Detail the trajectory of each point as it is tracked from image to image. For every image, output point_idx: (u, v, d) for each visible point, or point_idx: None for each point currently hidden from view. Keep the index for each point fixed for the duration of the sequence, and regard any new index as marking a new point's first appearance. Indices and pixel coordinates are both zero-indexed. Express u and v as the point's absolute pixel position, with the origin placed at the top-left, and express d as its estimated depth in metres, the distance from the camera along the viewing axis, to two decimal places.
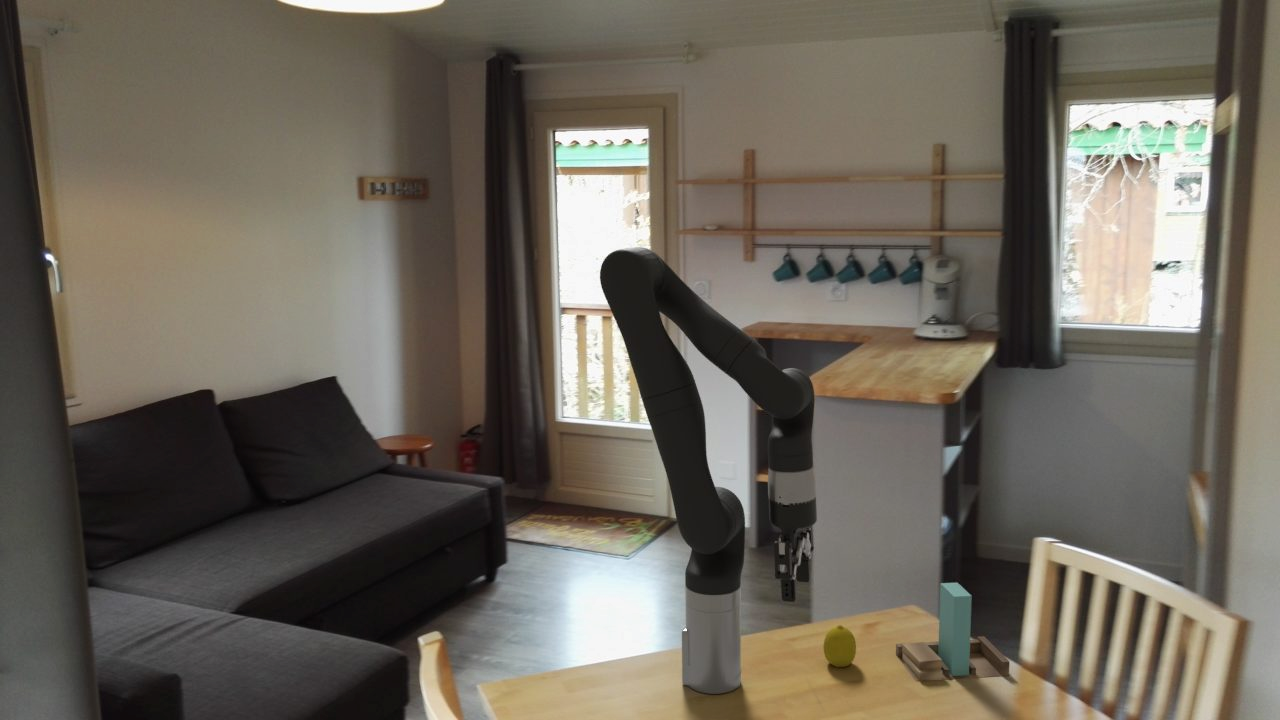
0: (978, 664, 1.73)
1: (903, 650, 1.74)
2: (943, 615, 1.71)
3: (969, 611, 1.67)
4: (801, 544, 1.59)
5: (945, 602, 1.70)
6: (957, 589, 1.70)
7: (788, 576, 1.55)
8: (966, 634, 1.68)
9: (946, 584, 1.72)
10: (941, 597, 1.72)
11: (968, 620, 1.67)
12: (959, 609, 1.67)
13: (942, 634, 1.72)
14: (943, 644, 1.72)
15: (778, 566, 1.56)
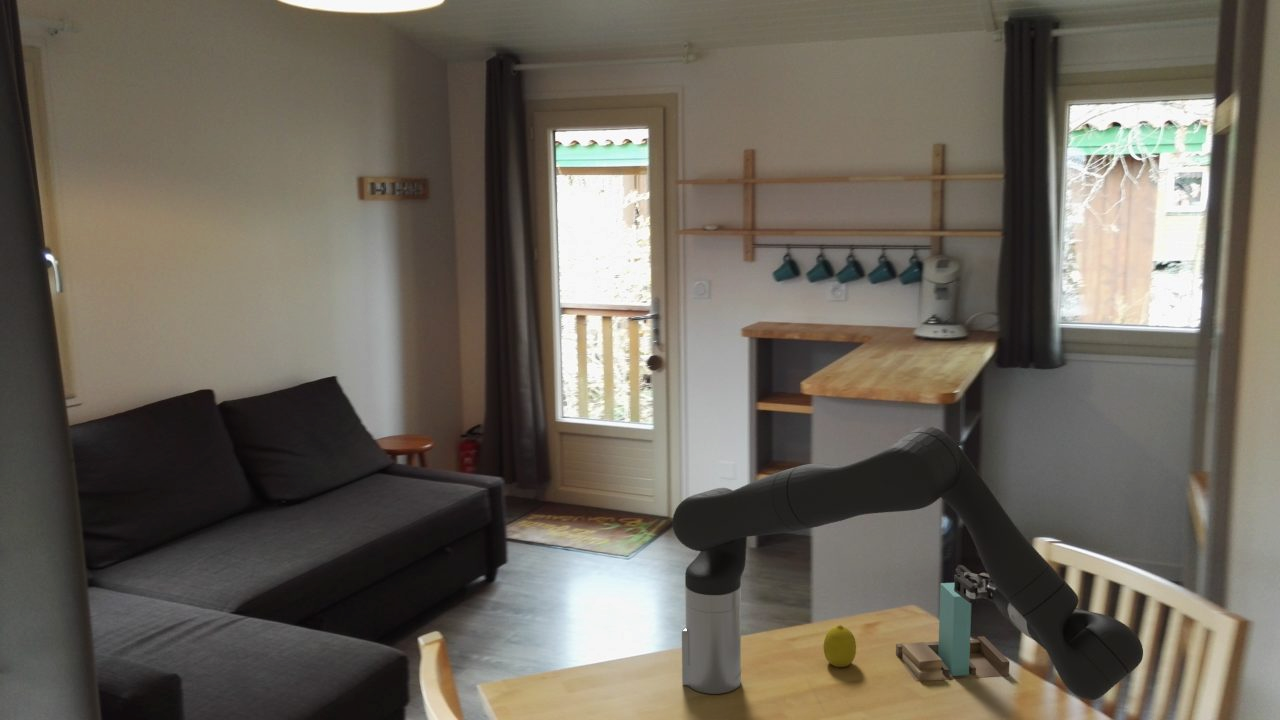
0: (978, 664, 1.73)
1: (903, 650, 1.74)
2: (943, 615, 1.71)
3: (969, 611, 1.67)
4: None
5: (945, 602, 1.70)
6: None
7: (954, 589, 1.52)
8: (966, 634, 1.68)
9: (946, 584, 1.72)
10: (941, 597, 1.72)
11: (968, 620, 1.67)
12: (959, 609, 1.67)
13: (942, 634, 1.72)
14: (943, 644, 1.72)
15: None
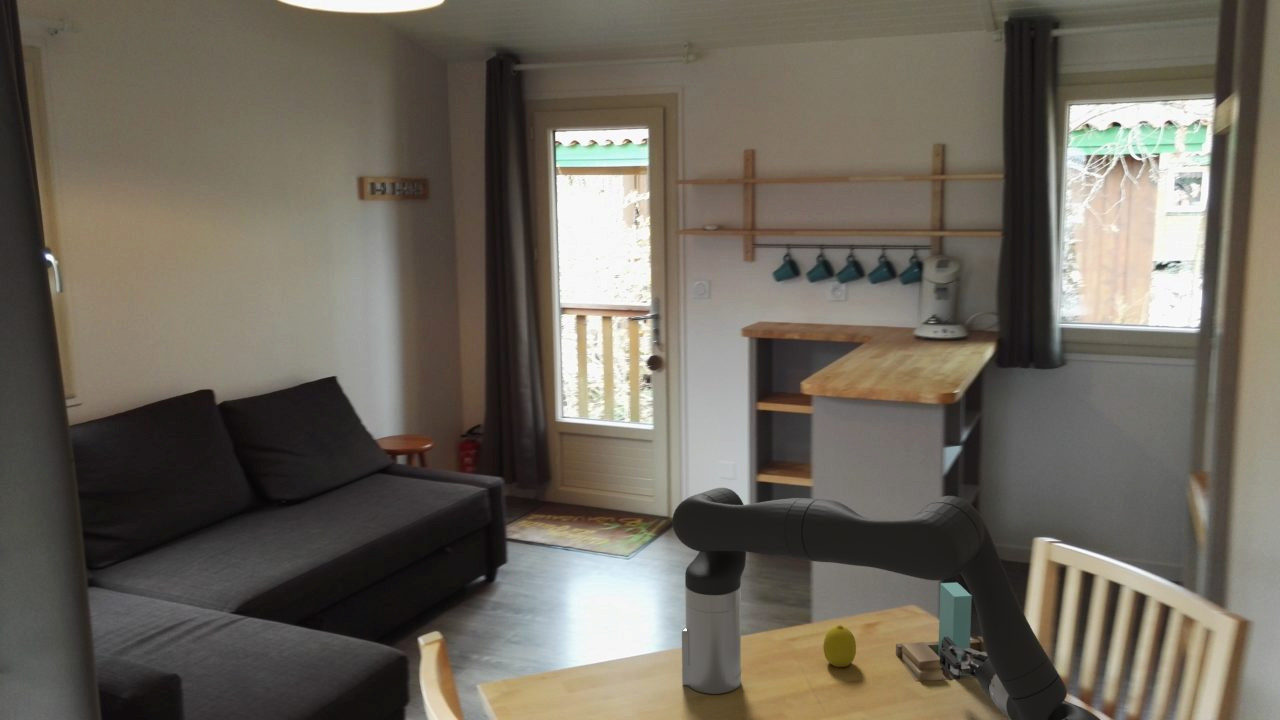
0: None
1: (903, 650, 1.74)
2: (943, 615, 1.71)
3: (969, 611, 1.67)
4: None
5: (945, 602, 1.70)
6: (957, 589, 1.70)
7: (940, 663, 1.58)
8: (966, 634, 1.68)
9: (946, 584, 1.72)
10: (941, 597, 1.72)
11: (968, 620, 1.67)
12: (959, 609, 1.67)
13: (942, 634, 1.72)
14: None
15: None
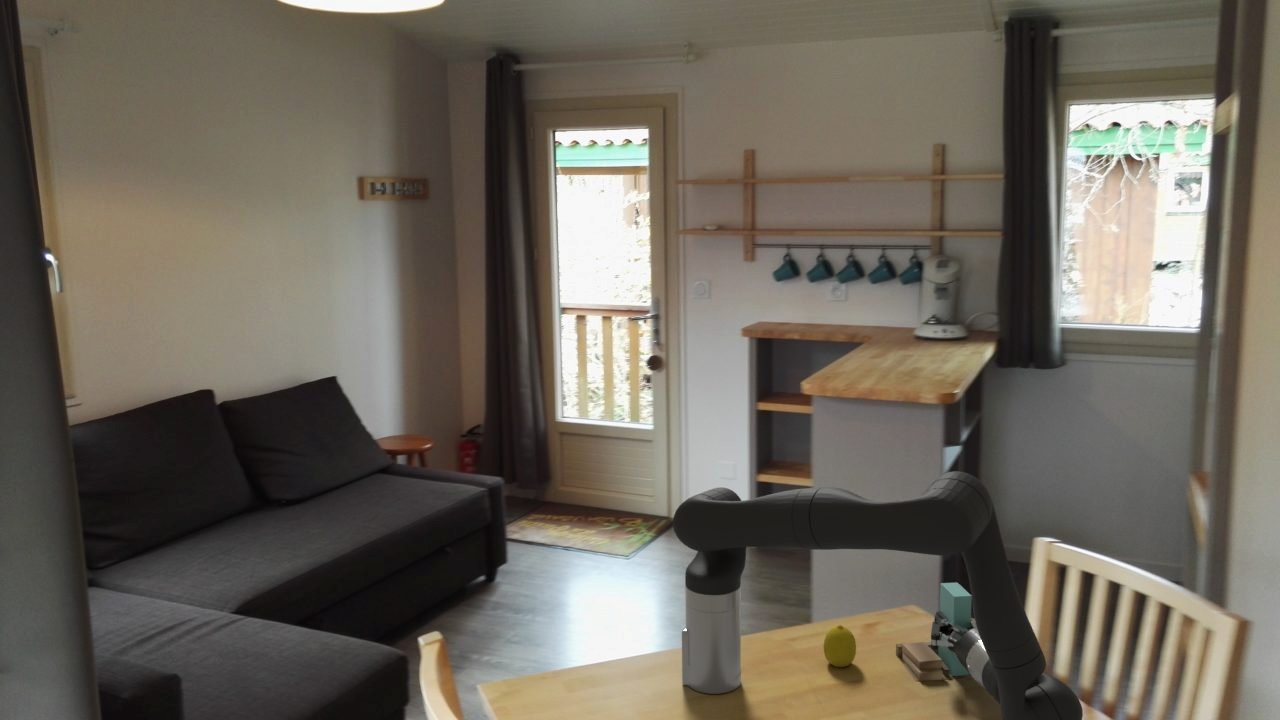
0: None
1: (903, 650, 1.74)
2: None
3: (969, 611, 1.67)
4: None
5: (945, 602, 1.70)
6: (957, 589, 1.70)
7: None
8: None
9: (946, 584, 1.72)
10: (941, 597, 1.72)
11: (968, 620, 1.67)
12: (959, 609, 1.67)
13: None
14: None
15: None
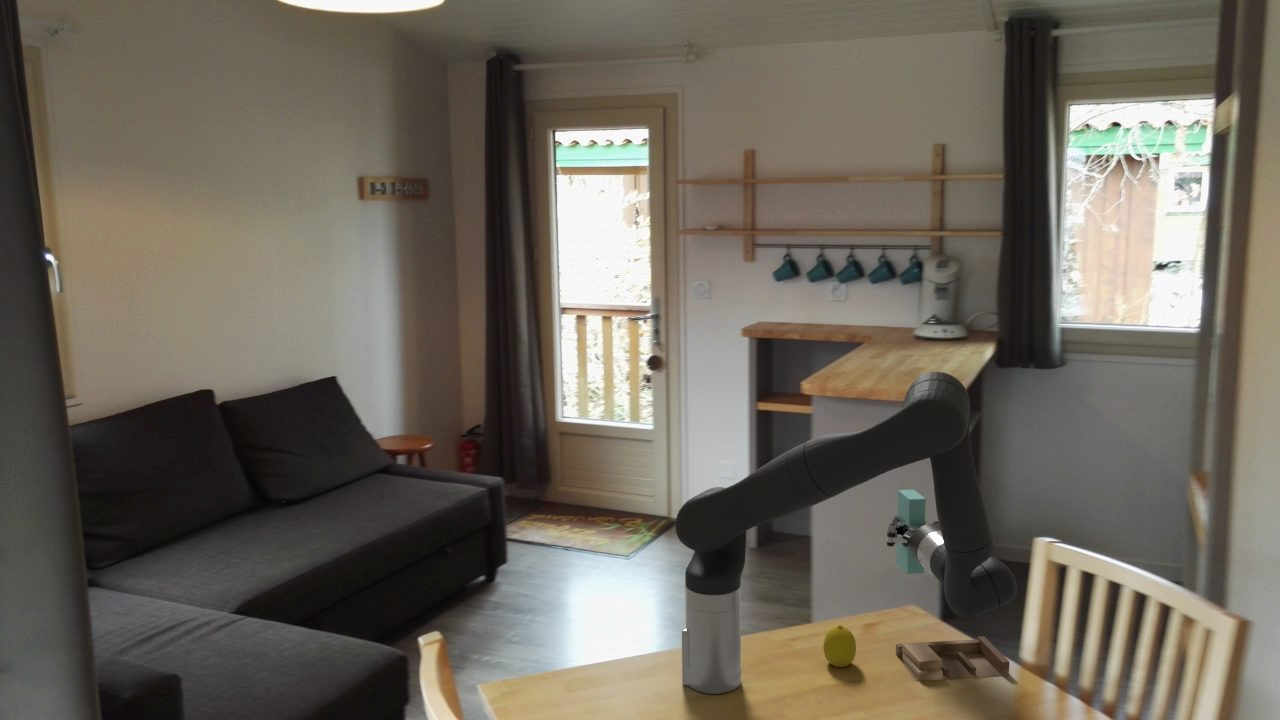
0: (978, 664, 1.73)
1: (903, 650, 1.74)
2: None
3: (923, 513, 1.81)
4: None
5: (902, 507, 1.85)
6: (913, 494, 1.84)
7: None
8: None
9: (903, 491, 1.86)
10: (899, 503, 1.86)
11: (922, 521, 1.82)
12: (914, 511, 1.81)
13: None
14: (900, 546, 1.86)
15: None
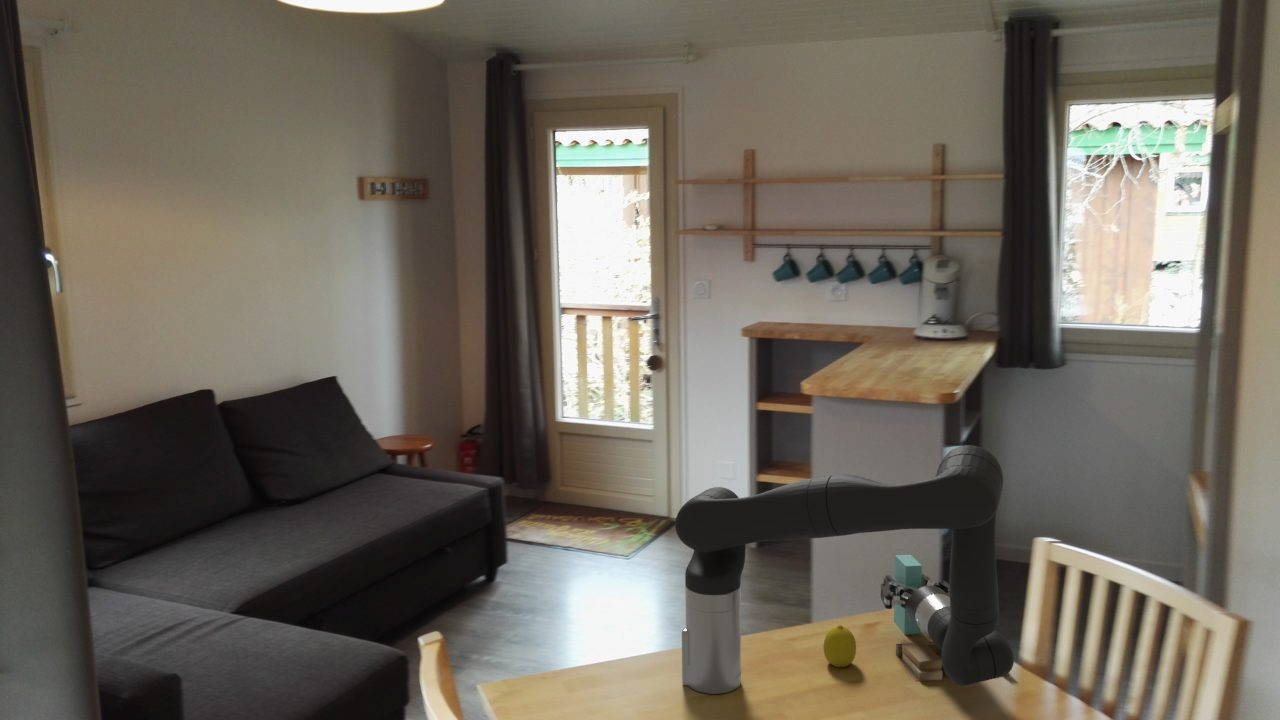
0: None
1: (903, 650, 1.74)
2: None
3: (920, 579, 1.84)
4: None
5: (899, 572, 1.87)
6: (909, 560, 1.87)
7: (881, 596, 1.84)
8: None
9: (900, 556, 1.89)
10: (896, 568, 1.89)
11: (918, 587, 1.84)
12: (911, 578, 1.84)
13: None
14: (897, 611, 1.89)
15: None
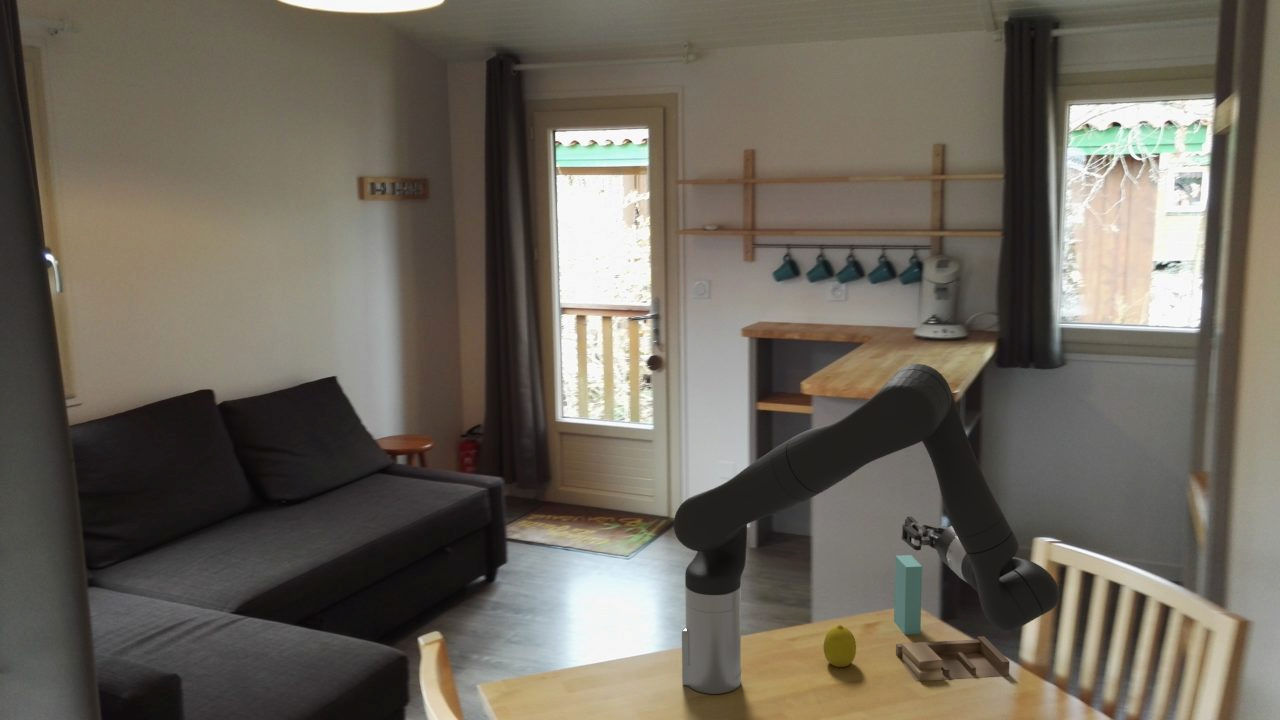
0: (978, 664, 1.73)
1: (903, 650, 1.74)
2: (898, 585, 1.88)
3: (920, 580, 1.84)
4: None
5: (899, 573, 1.87)
6: (910, 560, 1.86)
7: (902, 537, 1.68)
8: (917, 601, 1.84)
9: (900, 556, 1.88)
10: (896, 568, 1.89)
11: (919, 588, 1.84)
12: (911, 578, 1.84)
13: (897, 602, 1.89)
14: (897, 611, 1.89)
15: None
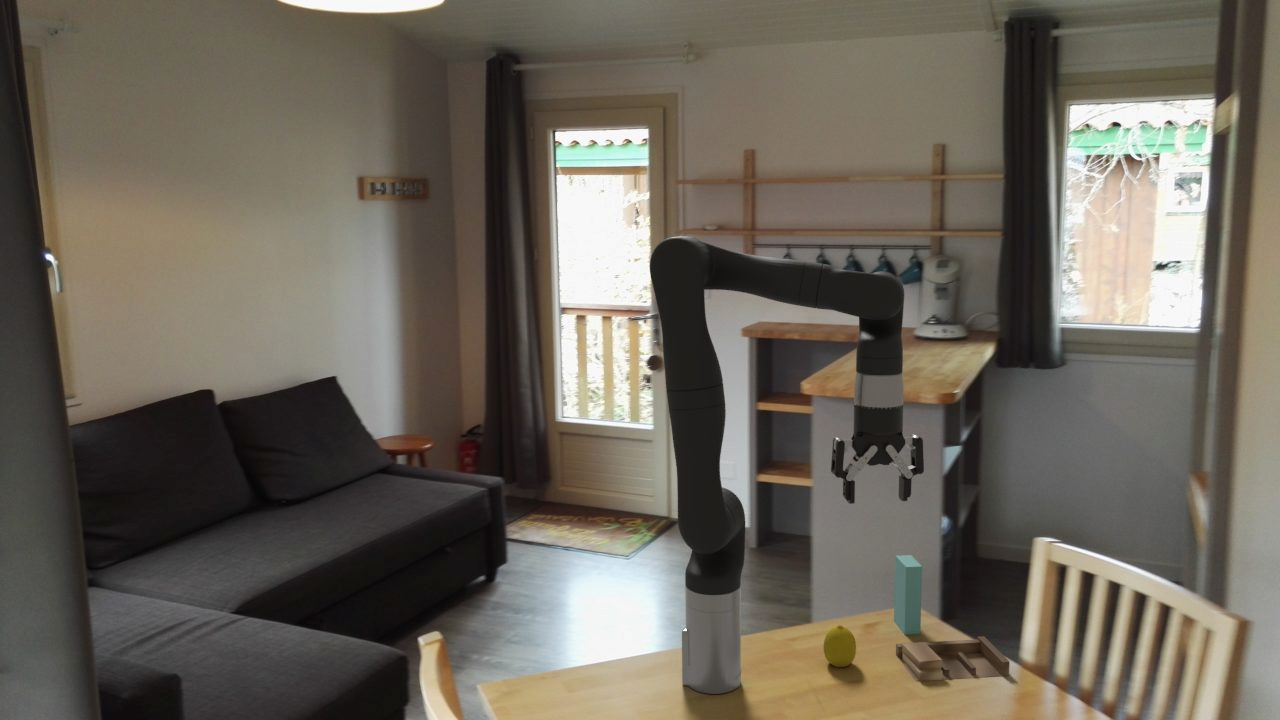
0: (978, 664, 1.73)
1: (903, 650, 1.74)
2: (898, 585, 1.88)
3: (920, 580, 1.84)
4: (867, 450, 1.56)
5: (899, 573, 1.87)
6: (910, 560, 1.86)
7: (834, 472, 1.57)
8: (917, 601, 1.84)
9: (900, 556, 1.88)
10: (896, 568, 1.89)
11: (919, 588, 1.84)
12: (911, 578, 1.84)
13: (897, 602, 1.89)
14: (897, 611, 1.89)
15: (835, 461, 1.58)
